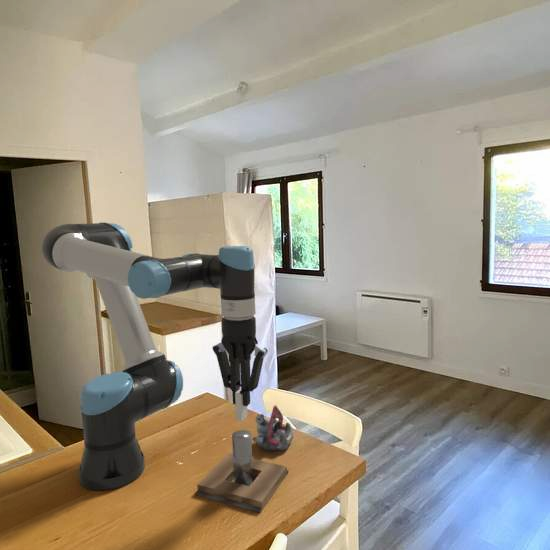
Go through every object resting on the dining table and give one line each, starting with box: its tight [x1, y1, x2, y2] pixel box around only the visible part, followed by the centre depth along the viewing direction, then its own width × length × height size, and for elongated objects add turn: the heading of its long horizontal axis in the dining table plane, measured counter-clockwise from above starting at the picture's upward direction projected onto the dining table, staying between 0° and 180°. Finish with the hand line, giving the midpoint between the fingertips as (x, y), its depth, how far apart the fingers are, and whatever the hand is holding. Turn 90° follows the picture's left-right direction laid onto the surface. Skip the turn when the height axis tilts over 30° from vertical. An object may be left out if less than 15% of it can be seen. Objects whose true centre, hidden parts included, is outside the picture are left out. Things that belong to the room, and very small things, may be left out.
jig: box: [195, 452, 289, 514], centre depth 100 cm, size 16×16×2 cm
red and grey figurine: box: [252, 404, 294, 452], centre depth 118 cm, size 11×11×12 cm
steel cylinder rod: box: [231, 429, 254, 486], centre depth 100 cm, size 4×4×12 cm
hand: (241, 417), depth 98 cm, fingers closed
